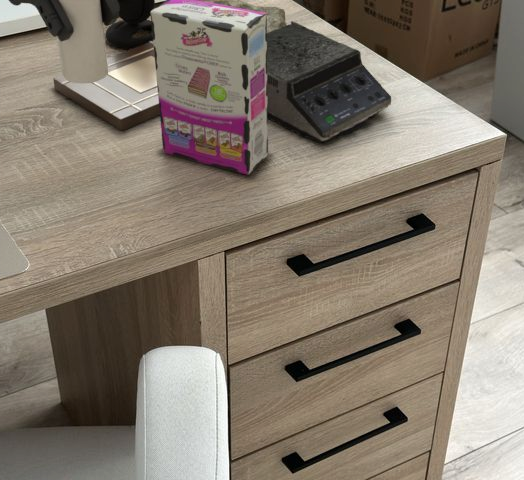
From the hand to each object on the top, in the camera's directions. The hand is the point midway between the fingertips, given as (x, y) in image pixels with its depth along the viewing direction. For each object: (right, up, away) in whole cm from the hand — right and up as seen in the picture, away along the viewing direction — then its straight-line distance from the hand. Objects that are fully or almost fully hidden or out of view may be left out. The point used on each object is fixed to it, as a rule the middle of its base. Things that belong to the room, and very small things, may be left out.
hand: (90, 27), depth 87 cm
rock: (+13, +11, +40) cm, 43 cm away
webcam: (-1, +12, +41) cm, 43 cm away
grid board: (+1, +3, +31) cm, 31 cm away
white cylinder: (-1, -3, +4) cm, 5 cm away
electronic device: (+21, 0, +27) cm, 35 cm away
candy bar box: (+11, -8, +19) cm, 23 cm away
